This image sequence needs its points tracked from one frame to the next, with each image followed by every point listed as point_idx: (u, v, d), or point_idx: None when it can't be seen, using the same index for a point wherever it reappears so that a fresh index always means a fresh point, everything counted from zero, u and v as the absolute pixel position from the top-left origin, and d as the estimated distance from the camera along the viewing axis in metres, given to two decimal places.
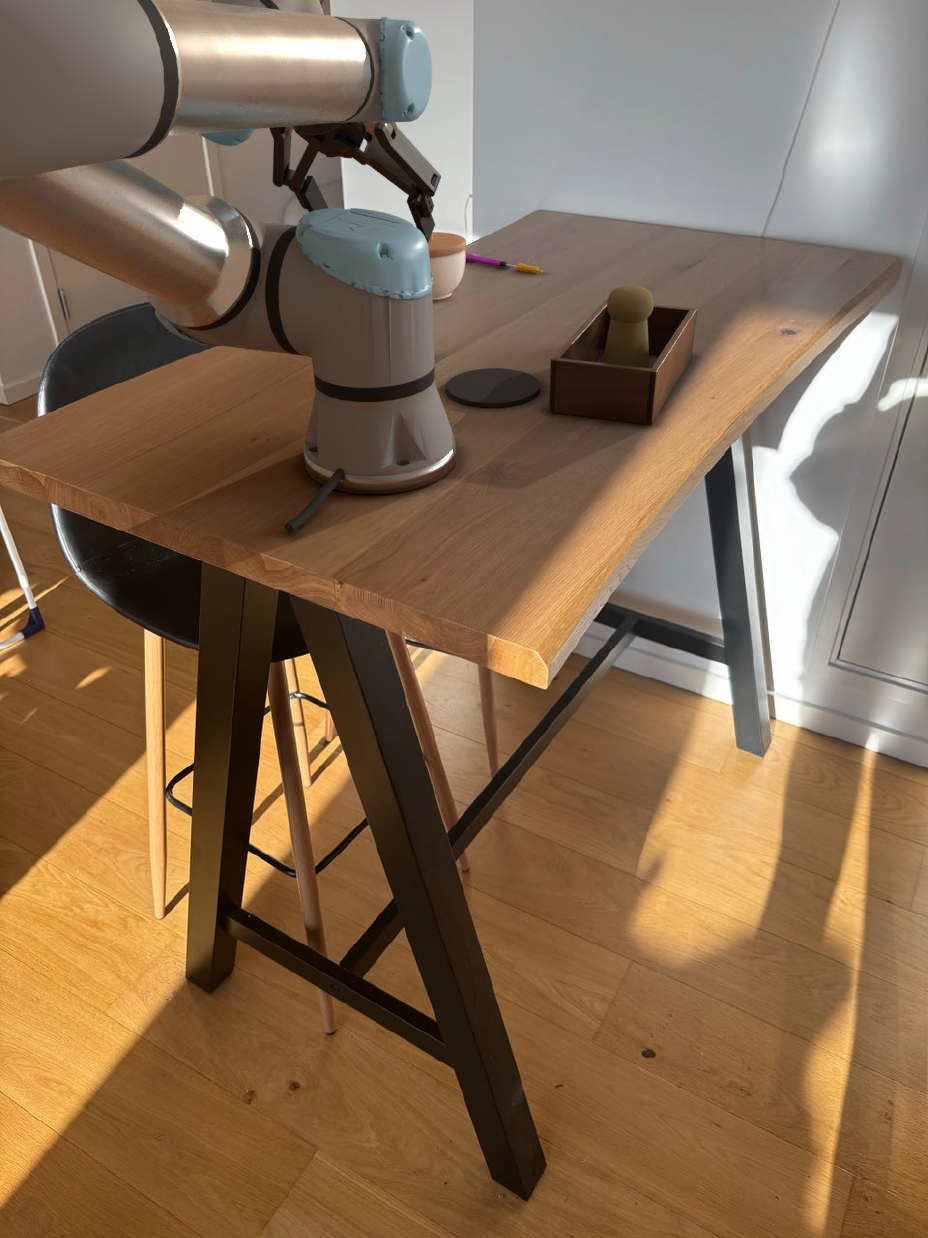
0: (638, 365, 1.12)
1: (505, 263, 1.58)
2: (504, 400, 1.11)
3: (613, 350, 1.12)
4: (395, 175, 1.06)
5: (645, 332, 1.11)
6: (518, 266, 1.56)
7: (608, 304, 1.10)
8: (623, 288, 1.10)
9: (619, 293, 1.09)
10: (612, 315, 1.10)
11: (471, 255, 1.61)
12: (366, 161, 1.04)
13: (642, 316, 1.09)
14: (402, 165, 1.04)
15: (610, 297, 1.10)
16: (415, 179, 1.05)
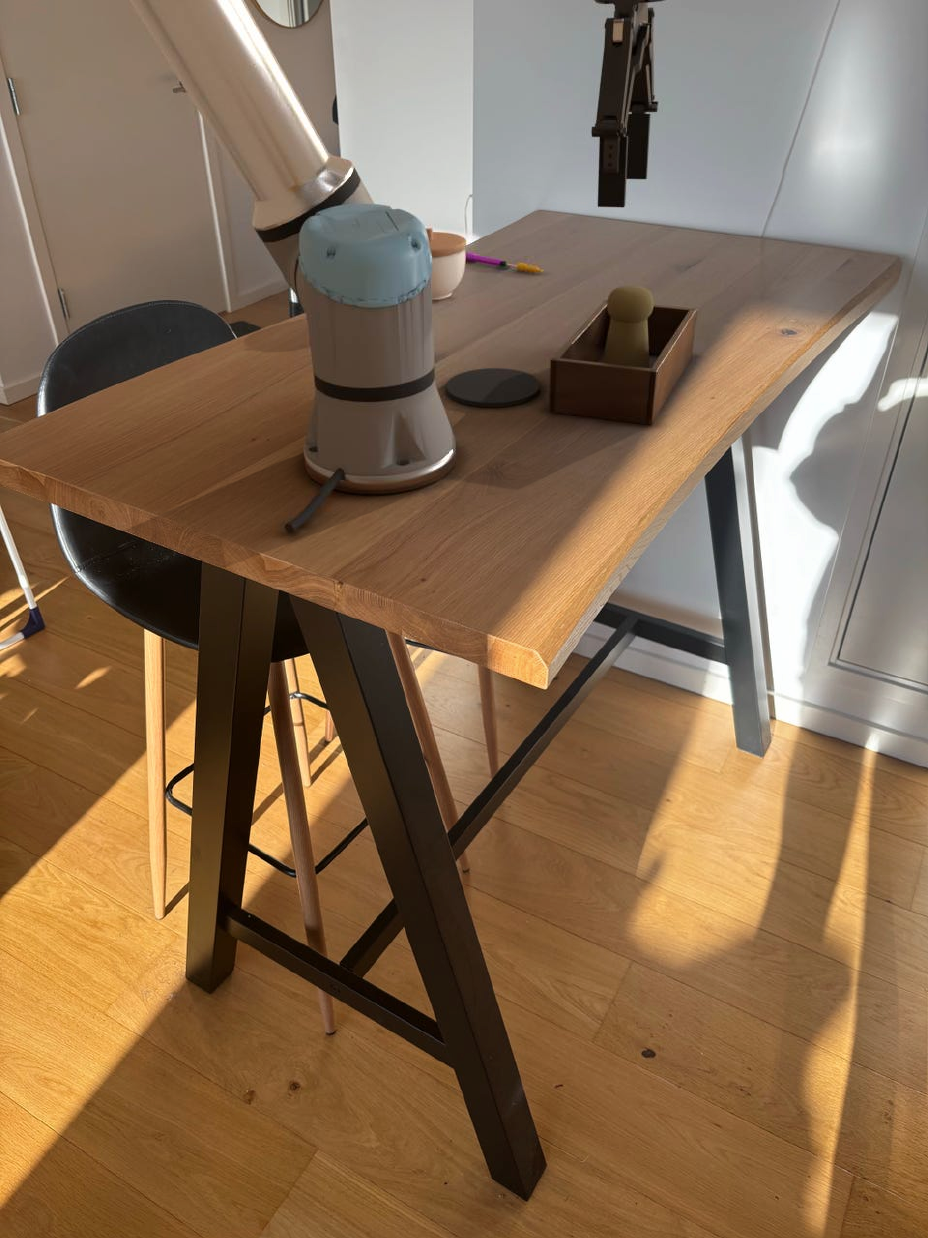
0: (638, 365, 1.12)
1: (505, 263, 1.58)
2: (504, 400, 1.11)
3: (613, 350, 1.12)
4: None
5: (645, 332, 1.11)
6: (518, 266, 1.56)
7: (608, 304, 1.10)
8: (623, 288, 1.10)
9: (619, 293, 1.09)
10: (612, 315, 1.10)
11: (471, 254, 1.61)
12: None
13: (642, 316, 1.09)
14: None
15: (610, 297, 1.10)
16: None
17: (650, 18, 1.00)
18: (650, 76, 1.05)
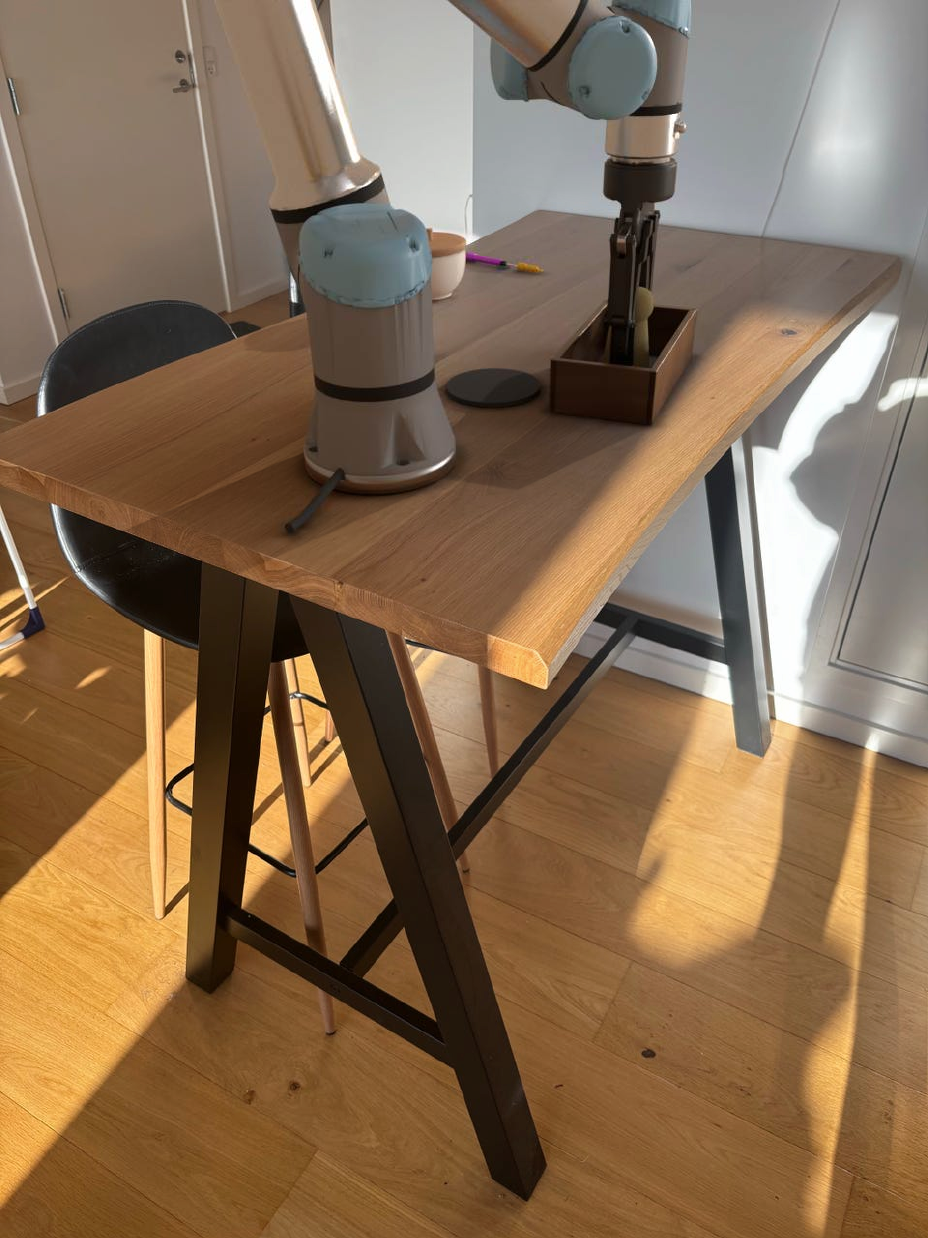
0: (638, 365, 1.12)
1: (505, 262, 1.58)
2: (504, 400, 1.11)
3: None
4: None
5: (645, 332, 1.11)
6: (518, 265, 1.56)
7: None
8: None
9: None
10: None
11: (471, 254, 1.61)
12: None
13: (642, 316, 1.09)
14: None
15: None
16: None
17: None
18: (650, 272, 1.13)
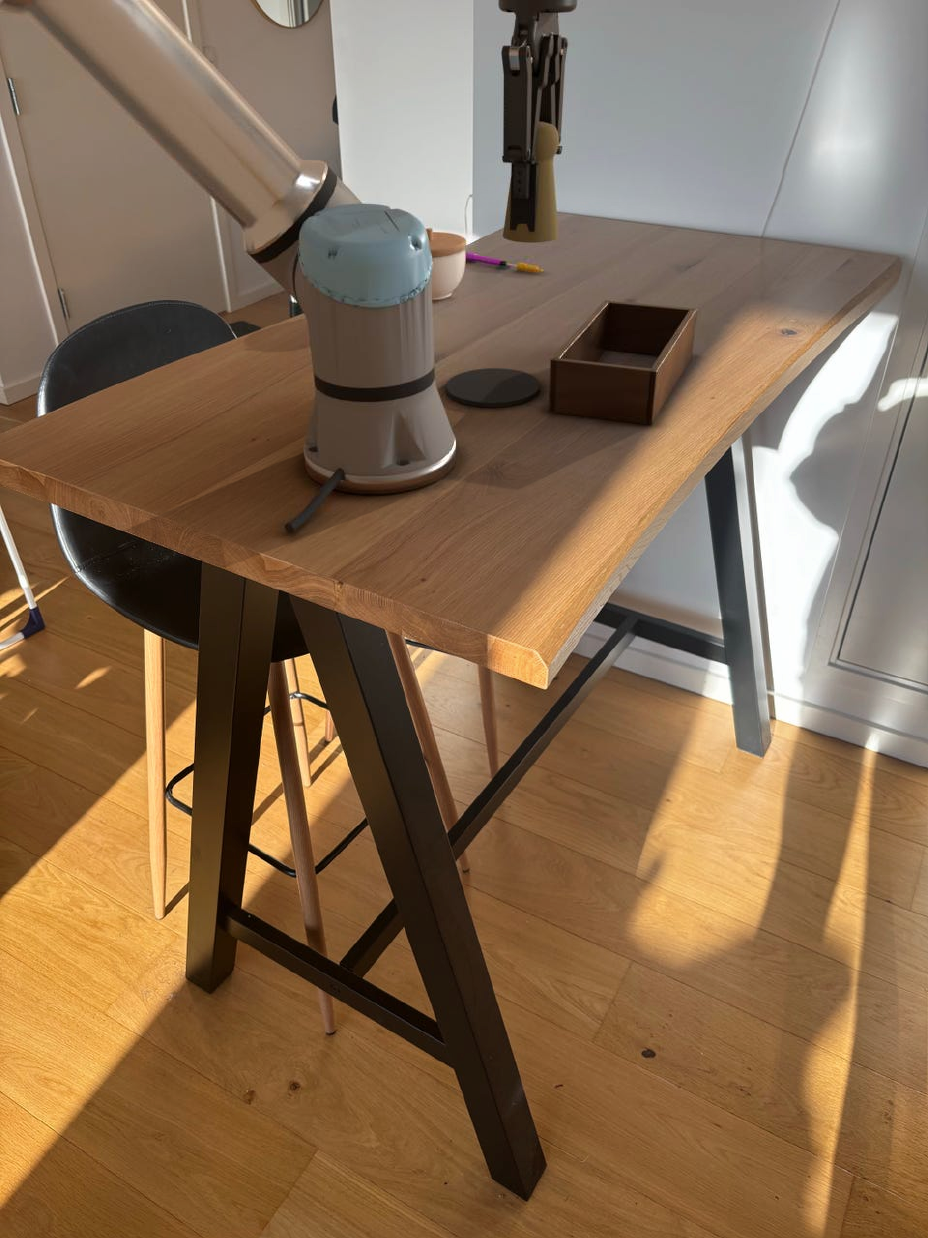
0: (543, 211, 1.02)
1: (505, 262, 1.58)
2: (504, 400, 1.11)
3: None
4: None
5: (550, 173, 1.01)
6: (518, 265, 1.56)
7: None
8: None
9: None
10: None
11: (471, 254, 1.61)
12: None
13: (545, 152, 0.99)
14: None
15: None
16: None
17: (562, 44, 0.99)
18: (557, 109, 1.02)
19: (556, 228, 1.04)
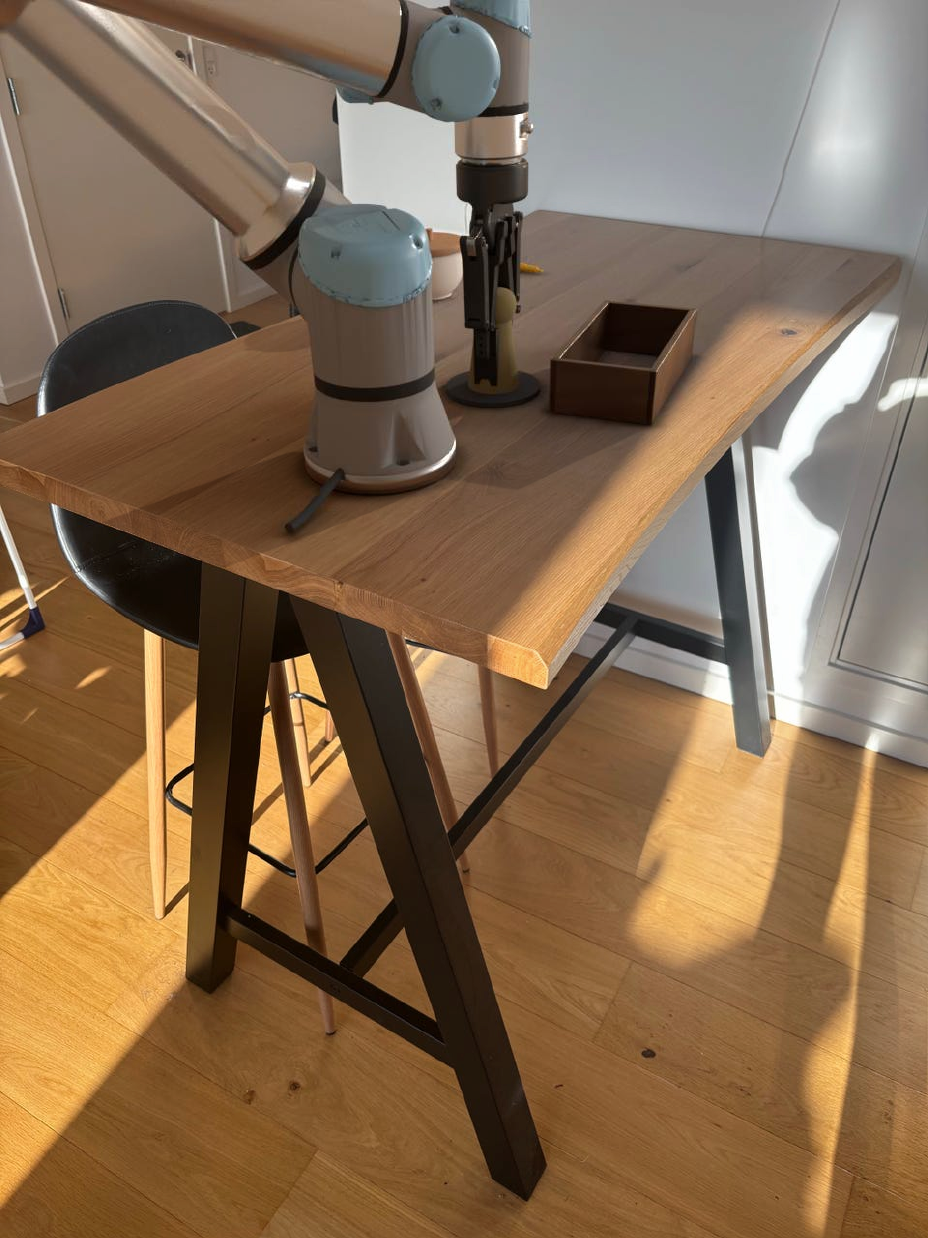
0: (503, 367, 1.11)
1: None
2: (504, 400, 1.11)
3: None
4: None
5: (509, 333, 1.10)
6: None
7: None
8: None
9: None
10: None
11: None
12: None
13: (503, 317, 1.08)
14: None
15: None
16: None
17: (518, 218, 1.09)
18: (515, 274, 1.11)
19: (516, 379, 1.13)
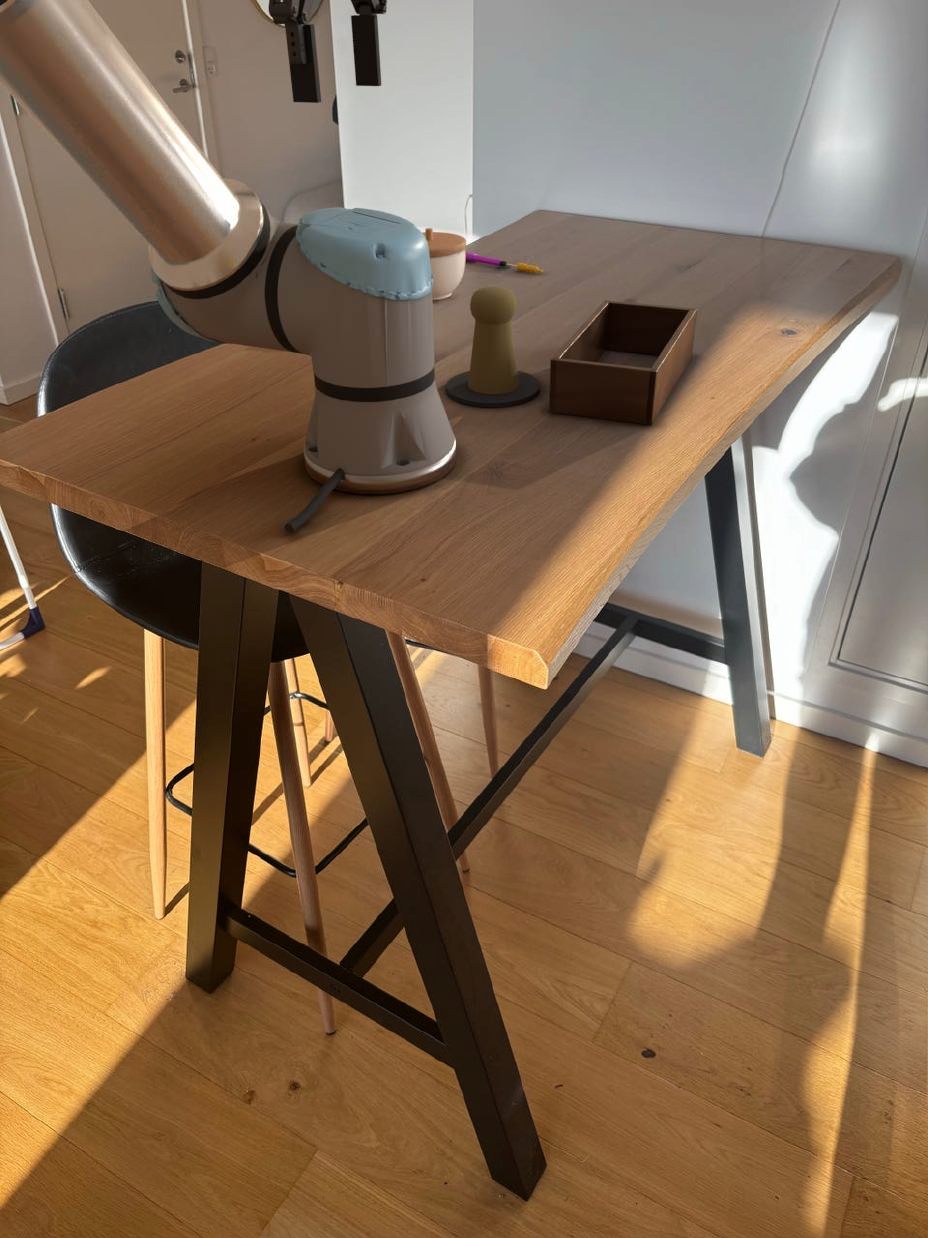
0: (503, 367, 1.11)
1: (505, 263, 1.58)
2: (504, 400, 1.11)
3: (477, 351, 1.11)
4: None
5: (509, 333, 1.10)
6: (518, 266, 1.56)
7: (470, 305, 1.09)
8: (485, 289, 1.09)
9: (480, 294, 1.08)
10: (474, 316, 1.09)
11: (471, 255, 1.61)
12: None
13: (503, 317, 1.08)
14: None
15: (472, 298, 1.09)
16: None
17: None
18: None
19: (516, 379, 1.13)
